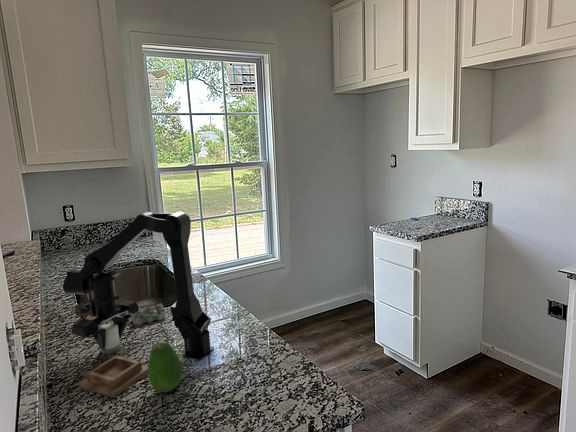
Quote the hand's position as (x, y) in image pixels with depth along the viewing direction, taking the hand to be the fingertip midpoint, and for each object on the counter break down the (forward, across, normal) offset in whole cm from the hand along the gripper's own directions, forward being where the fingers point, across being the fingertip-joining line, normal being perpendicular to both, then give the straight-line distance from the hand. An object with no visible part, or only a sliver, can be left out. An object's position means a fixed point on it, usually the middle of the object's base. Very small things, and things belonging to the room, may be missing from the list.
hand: (110, 344), depth 114 cm
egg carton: (+2, -20, -6) cm, 21 cm away
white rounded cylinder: (+2, 0, 0) cm, 2 cm away
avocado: (+2, +9, +29) cm, 30 cm away
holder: (+2, +10, +13) cm, 16 cm away
